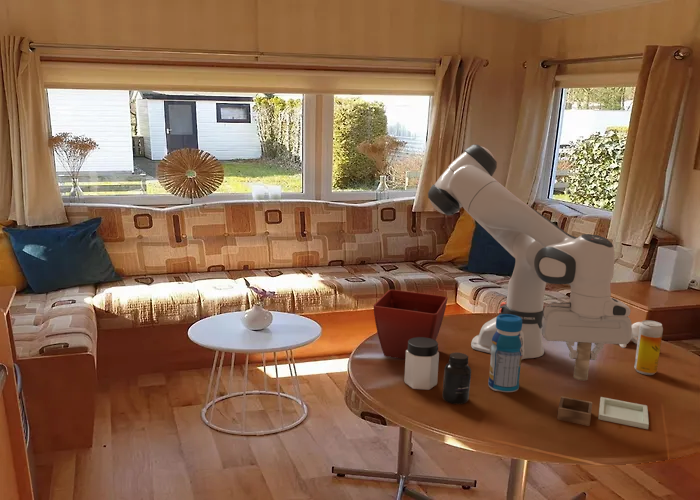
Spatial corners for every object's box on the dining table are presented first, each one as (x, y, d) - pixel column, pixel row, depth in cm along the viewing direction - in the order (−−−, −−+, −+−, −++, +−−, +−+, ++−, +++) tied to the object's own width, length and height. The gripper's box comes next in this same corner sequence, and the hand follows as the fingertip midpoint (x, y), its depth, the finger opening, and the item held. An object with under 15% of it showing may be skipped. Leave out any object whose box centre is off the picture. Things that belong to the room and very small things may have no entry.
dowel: (573, 379, 149) (577, 339, 147) (573, 374, 152) (578, 335, 150) (587, 381, 148) (591, 342, 146) (587, 376, 151) (592, 337, 149)
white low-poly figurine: (600, 348, 209) (641, 346, 196) (595, 323, 209) (635, 320, 197) (616, 344, 213) (656, 342, 200) (611, 320, 214) (651, 316, 201)
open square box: (556, 421, 150) (558, 408, 150) (559, 408, 157) (561, 396, 156) (589, 428, 148) (590, 414, 147) (590, 415, 154) (592, 402, 153)
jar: (442, 387, 167) (445, 345, 165) (416, 392, 164) (419, 349, 161) (424, 374, 175) (426, 334, 173) (399, 379, 172) (401, 338, 169)
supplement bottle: (462, 407, 156) (466, 363, 154) (437, 400, 160) (440, 356, 157) (472, 397, 162) (476, 354, 159) (448, 391, 165) (451, 348, 163)
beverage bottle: (503, 396, 163) (510, 324, 159) (480, 384, 170) (486, 315, 166) (525, 390, 167) (532, 319, 163) (502, 378, 174) (509, 310, 170)
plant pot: (433, 369, 180) (436, 313, 176) (370, 359, 185) (372, 305, 182) (444, 347, 197) (448, 296, 194) (387, 338, 203) (389, 289, 200)
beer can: (659, 376, 179) (666, 327, 176) (636, 374, 180) (643, 325, 177) (653, 368, 185) (660, 320, 182) (631, 366, 186) (638, 319, 183)
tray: (598, 421, 151) (599, 414, 151) (599, 403, 161) (600, 396, 161) (647, 431, 147) (648, 424, 146) (646, 412, 157) (647, 405, 156)
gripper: (548, 305, 143) (542, 361, 146) (637, 309, 143) (630, 365, 146) (541, 297, 150) (535, 351, 153) (627, 301, 149) (620, 355, 152)
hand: (582, 358), depth 149 cm, fingers closed on dowel, 3 cm apart
